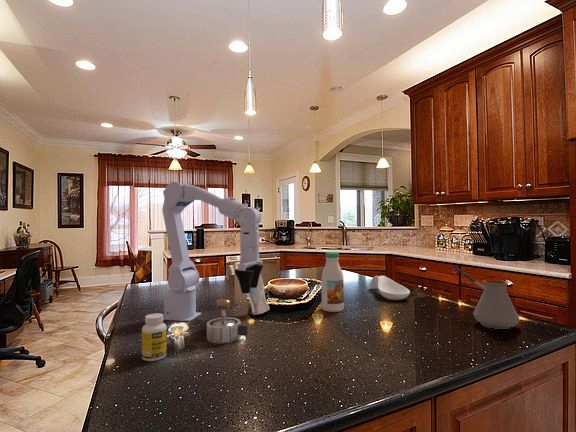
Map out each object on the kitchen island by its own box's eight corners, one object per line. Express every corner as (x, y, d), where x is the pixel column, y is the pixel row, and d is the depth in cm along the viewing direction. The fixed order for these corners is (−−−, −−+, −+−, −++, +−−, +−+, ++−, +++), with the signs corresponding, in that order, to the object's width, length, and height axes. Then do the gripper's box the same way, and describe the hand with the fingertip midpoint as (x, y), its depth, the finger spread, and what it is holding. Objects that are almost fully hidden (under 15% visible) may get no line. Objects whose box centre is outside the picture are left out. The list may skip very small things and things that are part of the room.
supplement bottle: (151, 364, 73) (151, 320, 73) (137, 358, 76) (136, 316, 76) (171, 355, 78) (171, 314, 78) (157, 350, 81) (156, 310, 81)
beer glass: (268, 312, 106) (254, 267, 107) (248, 317, 107) (235, 273, 108) (273, 306, 113) (260, 264, 113) (254, 311, 114) (242, 269, 115)
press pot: (200, 342, 86) (200, 326, 86) (215, 330, 95) (215, 316, 95) (241, 345, 84) (241, 329, 84) (252, 332, 92) (252, 318, 92)
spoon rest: (416, 301, 125) (415, 282, 125) (387, 303, 122) (387, 284, 122) (385, 288, 148) (385, 272, 148) (361, 290, 145) (360, 273, 145)
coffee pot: (529, 330, 92) (529, 276, 92) (498, 334, 89) (497, 279, 89) (468, 309, 113) (468, 266, 113) (441, 312, 110) (440, 268, 110)
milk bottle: (319, 311, 113) (318, 253, 113) (325, 305, 120) (324, 251, 120) (341, 313, 110) (340, 254, 110) (346, 307, 117) (345, 251, 117)
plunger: (208, 328, 87) (207, 302, 87) (218, 320, 93) (217, 297, 93) (230, 329, 86) (229, 304, 86) (238, 322, 92) (238, 298, 92)
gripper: (254, 249, 93) (254, 296, 94) (268, 244, 108) (268, 285, 108) (231, 248, 95) (231, 295, 95) (248, 244, 109) (248, 284, 109)
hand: (249, 290), depth 101 cm, fingers open, 7 cm apart
